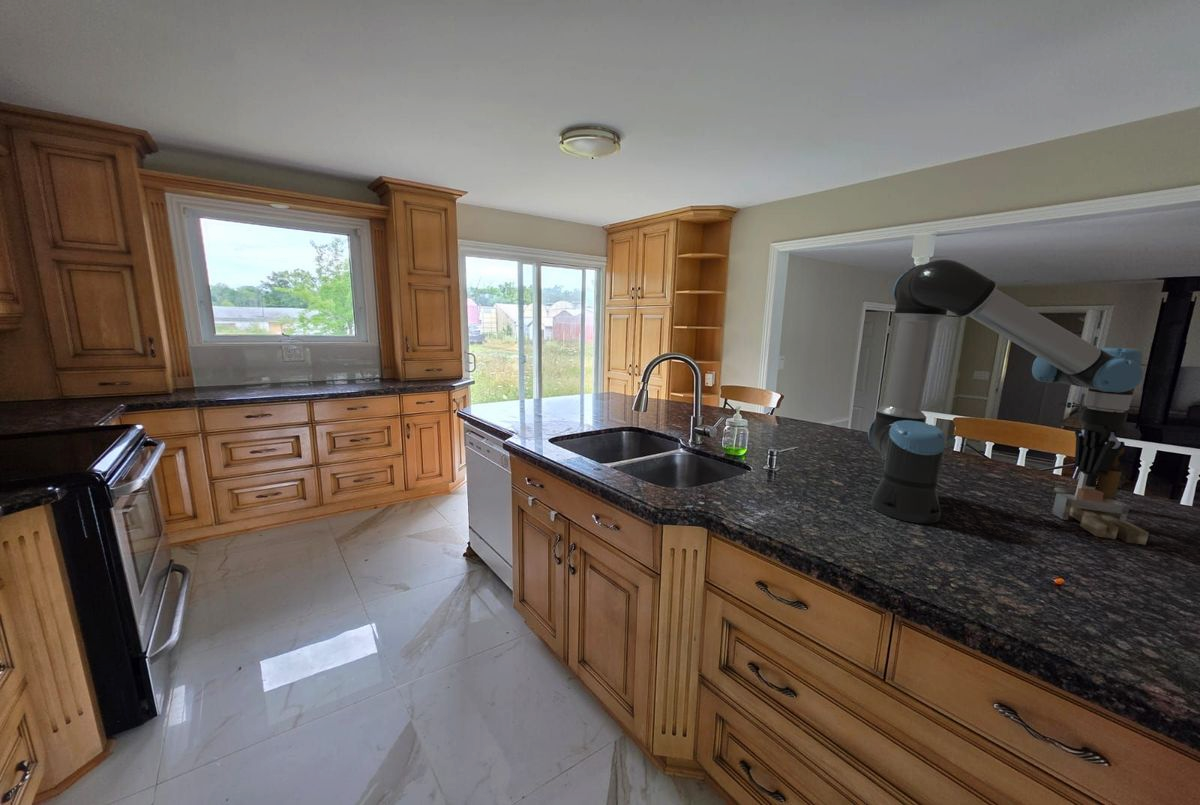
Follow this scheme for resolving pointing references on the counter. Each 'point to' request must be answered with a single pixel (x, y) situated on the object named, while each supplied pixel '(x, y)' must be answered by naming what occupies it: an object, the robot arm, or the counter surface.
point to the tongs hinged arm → (1090, 519)
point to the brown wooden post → (1110, 479)
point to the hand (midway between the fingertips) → (1083, 496)
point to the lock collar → (1089, 504)
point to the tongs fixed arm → (1126, 529)
